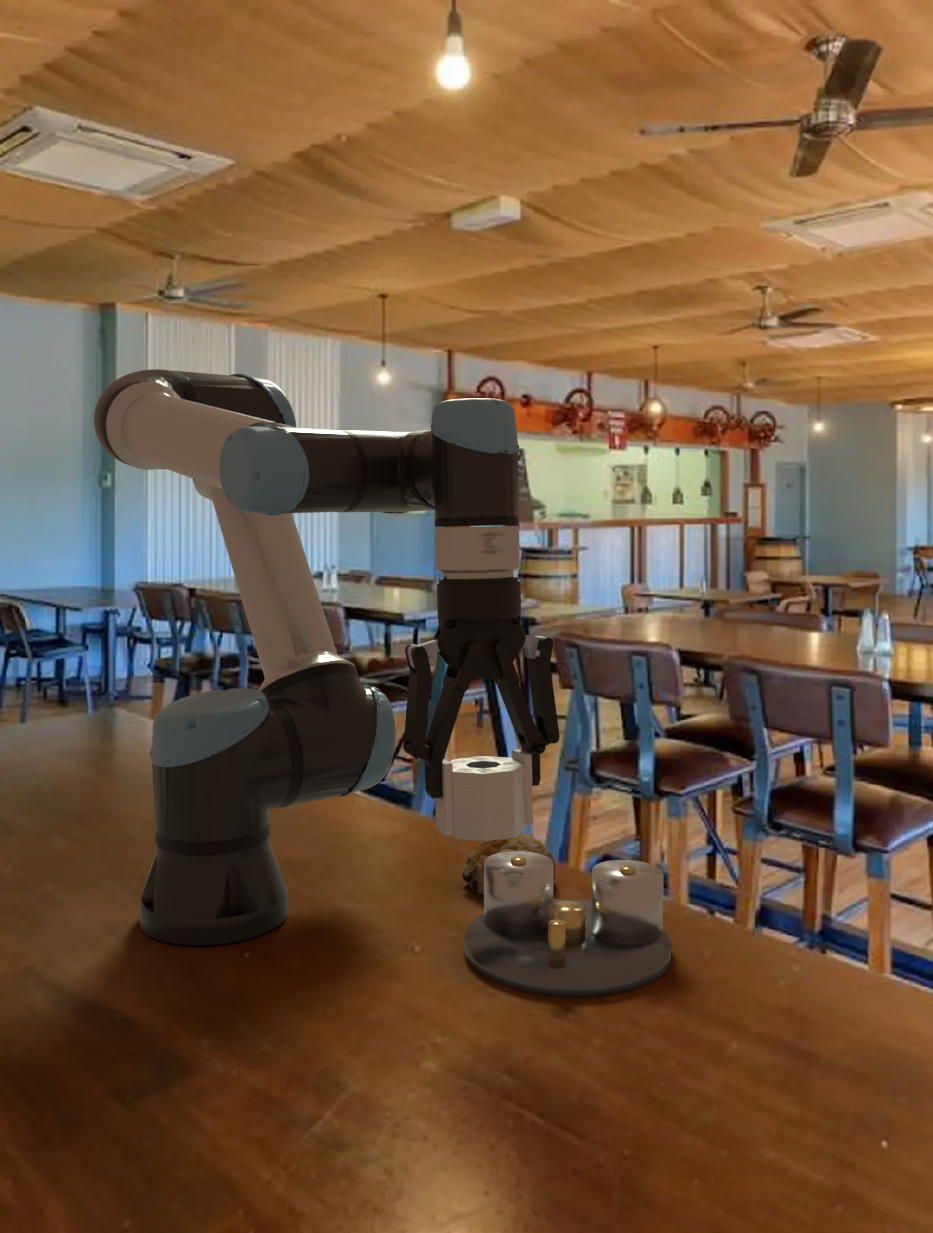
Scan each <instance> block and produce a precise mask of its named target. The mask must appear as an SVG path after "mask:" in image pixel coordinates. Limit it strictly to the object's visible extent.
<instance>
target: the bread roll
mask: <svg viewBox="0 0 933 1233" xmlns="http://www.w3.org/2000/svg"><path fill="white" fill-rule="evenodd" d="M510 851H525V852H533V853H538V854H541V855H544V856H547V857H548V858H550V859H551V860H552V861H553V883H554V881H555V880H556V871H557V870H556V869H557V868H556V863H555V862H556V861H555V859H554V857H553V854H552V853H551V851H550V849H549V848H548V847H547V846H546V845H545V843H543V842H541V841H540V839H536V838H535V837H534V836H533V835H532V834H530V833H528V832H527V833H526V832H523V833H522V832H521V833H520V834H519V835H517V836H516V837H512V838H505V839H498V840H491V841H480V842H479V844H478V845H476V846H475V849H473V850H472V851H471V852H470V853H469V854H468V855H467V858H466V860H465V862H464V863H465V865H464V866H463V868H462V870H463V872H462V876H461V877H462V879H463V881H465V882H466V883H468V885H469V888H470V889H471V890H472V891H473V892H474V893H477V894H479V895H481V896H483V897H484V861H485V859H486V858H487V857H489V856H491V855H494V854H497V853H502V852H510Z"/></svg>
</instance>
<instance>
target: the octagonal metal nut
mask: <svg viewBox="0 0 933 1233" xmlns="http://www.w3.org/2000/svg"><path fill="white" fill-rule="evenodd" d="M449 762H451V763H452V765H453V771H452V778H453V819H454V835H453V836H451V837H452V838H454V839H457V840H467V841H468V840H469V841H479V842H482V841H491V840H498V839H505V838H512V837H516V836H517V835H519V834H520V833H521V834H522V833H524V831H525V830H526V829H527V825H526V787H525V763H522V762H520V761H518V760H516V759H513V758H512V757H507V756H504V757H503V756H491V755H490V756H489V755H487V756H486V755H479V756H472V757H471V756H470V757H463V758H454V759H452V760H450V761H449Z"/></svg>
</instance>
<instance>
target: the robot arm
mask: <svg viewBox="0 0 933 1233" xmlns="http://www.w3.org/2000/svg"><path fill="white" fill-rule="evenodd" d="M93 426H94V431H95V435H96V437H97V438H98V442H99V443H100V445H101V446H102V447H103V449H104V450H105V451H106V452H107V453H108V454H109V456H111V457H112V458H114V459H115V460H117V461H118V462H121V463H123V464H125V465H127V466H130V467H133V468H136V469H139V470H143V471H144V470H145V471H154V470H168V471H171V472H174V473H176V474H180V475H182V476H184V477H187V478H190V479H192V481H193V482H192V483H193V484H194V488H195V490H196V492H197V493H198V495H200V496H201V497H203V498H205V499H208V500H209V501H211V502H212V505H213V508H214V511H215V514H216V517H217V520H218V524H219V527H220V531H221V535H222V539H223V541H224V545H225V548H226V551H227V555H228V557H229V558H228V559H229V562H230V564H231V568H232V572H233V575H234V578H235V581H236V585H237V588H238V591H239V595H240V599H241V601H242V604H243V608H244V612H245V616H246V619H247V622H248V626H249V629H250V632H251V635H252V639H253V642H254V645H255V649H256V652H257V656H258V658H259V662H260V666H261V669H262V672H263V676H264V680H263V681H262V683H261V685H260V687H259V688H258V689H255V688H249V687H247V688H246V687H235V688H233V687H232V688H227V689H224V690H223V689H216V690H209V691H203V692H198V693H195V694H192V695H188V696H185V697H182V698H179V699H177V700H175V701H172V702H170V703H169V704H167V705H166V706H164V707H163V708H162V709H160V710H159V711H158V713H157V714H156V716H155V717H154V720H153V722H152V734H151V735H152V736H151V738H152V739H151V749H150V754H149V756H150V758H149V759H150V761H151V766H152V767H151V768H152V770H151V771H152V772H151V773H152V790H153V791H152V793H153V812H154V814H153V816H154V819H153V820H154V836H155V837H154V841H155V842H154V843H155V844H154V845H155V847H154V848H155V850H154V854H153V858H152V861H151V865H150V867H149V871H148V873H147V874H148V875H147V878H146V882H145V885H144V887H143V891H142V894H141V897H140V901H139V902H140V903H139V924H140V928H141V930H142V932H144V933H145V934H146V935H147V936H149V937H151V938H152V939H154V940H158V941H160V942H164V943H169V944H174V945H179V946H180V945H182V946H215V945H225V944H231V943H236V942H241V941H245V940H249V939H253V938H255V937H258V936H261V935H263V934H265V933H268V932H270V931H272V930H274V929H275V928H277V927H279V926H280V925H281V924H282V923H283V922H284V921H285V920H286V919H287V917H288V914H289V892H288V887H287V885H286V883H285V879H284V877H283V874H282V870H281V869H280V865H279V863H278V860H277V857H276V855H275V852H274V849H273V846H272V843H271V835H270V834H271V832H270V831H271V830H270V827H271V826H270V825H271V824H270V815H271V814H270V811H272V810H278V809H281V808H287V807H292V806H298V805H302V804H307V803H312V802H316V801H321V800H325V799H332V798H336V797H340V798H341V797H343V798H344V797H345V798H346V797H348V796H350V795H351V794H353V793H357V792H359V791H360V792H361V791H363V790H364V791H365V790H367V789H371V788H372V787H374V786H376V785H377V784H378V783H380V782H381V781H382V780H383V779H384V778H385V776H386V774H387V773H388V771H389V769H390V767H391V765H392V762H393V757H394V753H395V751H396V742H397V727H396V724H397V723H396V719H395V713H394V710H393V707H392V705H391V702H390V700H389V698H388V697H387V695H386V694H385V693H384V692H382V691H381V689H379V688H377V687H376V686H372V685H367V684H363V685H362V681H361V680H360V679H361V678H360V676H359V674H358V671H357V668H356V665H355V664H354V663H353V662H351V661H349V660H347V659H345V658H344V657H341V656H340V655H338V652H337V648H336V646H335V642H334V640H333V639H334V638H333V636H332V633H331V631H330V627H329V624H328V621H327V617H326V615H325V614H326V613H325V612H324V608H323V605H322V603H321V602H322V601H321V599H320V596H319V593H318V590H317V587H316V583H315V580H314V578H313V574H312V571H311V568H310V565H309V562H308V559H307V556H306V553H305V549H304V546H303V543H302V540H301V536H300V533H299V532H298V528H297V524H296V521H295V518H294V515H293V514H306V513H307V514H308V513H309V514H311V513H312V514H313V513H317V514H318V513H381V514H399V515H401V514H405V513H408V512H424V511H434V513H435V514H434V516H435V518H434V527H435V570H436V571H438V572H439V573H442V578H439V579H438V582H436V604H437V606H436V607H437V610H436V611H437V623H438V626H437V630H436V632H435V634H434V637H433V639H431V640H429V641H426V642H423V643H420V644H414V643H409V644H407V645H406V646H405V648H404V654H405V658H406V663H407V666H408V669H409V673H408V684H407V697H406V709H405V723H404V732H403V733H404V734H403V735H404V736H403V744H402V745H403V746H402V748H403V751H404V752H405V753H406V754H408V755H410V756H411V757H413V758H415V759H420V760H423V761H422V762H423V763H424V788H425V793H426V795H427V796H428V797H429V798H432V799H434V800H435V801H434V802H435V803H434V804H435V829H436V830H437V831H438V832H440V833H441V834H443V836H445V837H450V836H451V837H452V836H453V835H454V819H453V778H452V771H453V765H452V763H451V762H450V761H449V760H447V759H445V756H446V753H447V750H448V746H449V743H450V741H451V738H452V734H453V731H454V728H455V724H456V721H457V719H458V715H459V713H460V712H459V711H460V708H461V707H462V706H461V705H462V703H463V699H464V696H465V693H466V691H468V689H469V688H470V684H471V683H472V681H478V680H481V679H483V678H489V679H492V680H493V682H494V683H495V685H496V686H497V688H498V691H499V695H500V697H501V699H502V702H503V705H504V706H505V709H506V712H507V715H508V717H509V720H510V723H511V725H512V727H513V730H514V732H515V736H516V739H517V741H518V743H519V746H520V747H521V748H517V749H516V748H514V749H512V750H511V758H513V759H516V760H518V761H520V762H522V763H525V787H526V826H531V825H534V808H533V807H534V805H533V804H534V801H533V800H534V799H533V796H534V795H533V794H534V793H533V787H536V786H537V787H538V786H540V783H541V781H542V780H541V754H543V753H545V751H546V746H548V745H550V744H557V743H558V741H559V740H560V729H559V722H558V714H557V706H556V697H555V691H554V690H555V689H554V685H553V683H554V682H553V676H552V668H551V661H552V660H551V659H552V654H553V650H554V640H553V639H552V638H551V637H548V636H543V635H538V634H537V635H527V634H526V632H525V630H524V629H523V626H522V623H521V617H522V594H521V593H522V592H521V591H522V590H521V580H520V579H519V576H514V571H518V570H519V569H520V568H521V558H520V555H521V554H520V553H521V552H520V519H519V516H520V514H519V512H520V510H519V508H520V507H519V505H520V503H519V451H520V445H519V442H518V441H519V440H518V430H517V417H516V412H515V408H514V407H513V405H511V403H510V402H508V401H506V400H503V399H497V398H490V397H489V398H486V397H485V398H481V397H480V398H478V397H476V398H475V397H473V398H470V397H469V398H457V399H456V398H455V399H447V400H444V401H439V403H437V404H436V405H434V407H433V409H432V414H431V424H430V425H429V427H430V429H425V430H416V431H381V430H378V431H377V430H354V429H353V430H352V429H349V430H347V429H321V428H308V427H297V420H296V417H295V412H294V409H293V407H292V404H291V402H290V401H289V399H288V397H287V395H286V394H285V393H284V391H283V390H282V389H281V387H279V386H278V385H276V384H275V383H274V382H273V381H270V380H269V379H266V378H262V377H256V376H255V377H253V376H251V375H248V374H243V373H232V374H227V375H226V374H218V373H204V372H195V371H194V372H192V371H183V370H170V369H169V370H168V369H162V368H161V369H157V368H156V369H155V368H154V369H153V368H152V369H141V370H139V371H134V372H130V373H127V374H125V375H122V376H121V377H119V378H117V379H116V380H114V381H113V382H111V383H110V384H109V385H107V387H106V388H105V389H104V390H103V391H102V393H101V394H100V395H99V398H98V400H97V401H96V404H95V408H94V413H93ZM522 649H523V653H524V654H523V655H524V656H525V657H526V658H527V660H526V661H527V672H528V677H529V678H528V679H529V686H530V695H531V701H532V708H533V715H534V716H532V714H531V710H530V708H529V706H528V704H527V701H526V698H525V696H524V695H525V694H524V693H523V690H522V688H521V684H520V680H521V679H520V676H519V674H518V671H517V669H516V666H515V663H514V661H515V660H516V658H517V656H518V655H519V653H520V652H521V650H522ZM437 654H439V656H440V657H441V658H442V659H443V661H444V662H445V663H446V665H447V666H446V669H445V672H444V675H443V679H442V685H443V686H442V689H441V692H440V695H439V698H438V701H437V705H436V708H435V710H434V714H433V716H432V720H431V723H430V726H429V729H427V728H428V718H429V709H430V708H429V707H430V706H429V705H430V697H431V696H430V693H431V685H432V668H431V667H433V666H434V664H435V662H436V655H437ZM533 717H534V719H533ZM427 731H428V733H427Z"/></svg>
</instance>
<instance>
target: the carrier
mask: <svg viewBox="0 0 933 1233" xmlns="http://www.w3.org/2000/svg"><path fill="white" fill-rule="evenodd" d="M664 876H665V875H664V871H663V870H662V869H661V868H660V867H659V866H656V865H654V864H652V863H649V862H645V861H639V860H632V859H613V860H606V861H602V862H599V863H597V864H595V865H594V866H593V867H592V868H591V890H590V891H591V895H590V896H591V900H586V899H585V900H584V899H583V900H582V899H572V898H571V899H570V898H569V899H567V898H554V882H553V861H552V860H551V859H550V858H548V857H547V856H544V855H541V854H538V853H533V852H525V851H510V852H502V853H497V854H494V855H491V856H489V857H487V858H486V859H485V861H484V896H483V914H480V915H479V916H477V917H476V918H475V919H474V920H472V921H471V922H470V924H469V925H467V928H466V930H465V933H464V955H465V958H466V959H467V961H468V962H469V964H470V965H471V967H472V968H474V969H475V970H476V971H477V972H478V973H480V974H481V975H483V976H484V977H486V978H487V979H489V980H492V981H493V982H496V983H498V984H499V985H503V986H506V987H508V988H511V989H515V990H518V991H523V992H528V993H532V994H537V995H542V996H543V995H545V996H552V997H563V998H564V997H565V998H590V997H591V998H592V997H602V996H610V995H615V994H622V993H626V992H630V991H633V990H636V989H639V988H641V987H645V986H647V985H648V984H651V983H653V982H655V981H656V980H657V979H659V978H660V977H661V976H663V974H665V973H666V971H667V970H668V968H669V966H670V964H671V961H672V941H671V938H670V936H669V935H668V933H667V932H666V930H665V929H664V928H663V921H664V920H663V917H664V909H663V908H664Z"/></svg>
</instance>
